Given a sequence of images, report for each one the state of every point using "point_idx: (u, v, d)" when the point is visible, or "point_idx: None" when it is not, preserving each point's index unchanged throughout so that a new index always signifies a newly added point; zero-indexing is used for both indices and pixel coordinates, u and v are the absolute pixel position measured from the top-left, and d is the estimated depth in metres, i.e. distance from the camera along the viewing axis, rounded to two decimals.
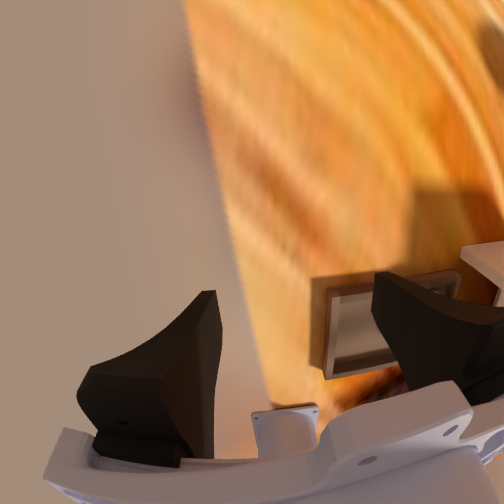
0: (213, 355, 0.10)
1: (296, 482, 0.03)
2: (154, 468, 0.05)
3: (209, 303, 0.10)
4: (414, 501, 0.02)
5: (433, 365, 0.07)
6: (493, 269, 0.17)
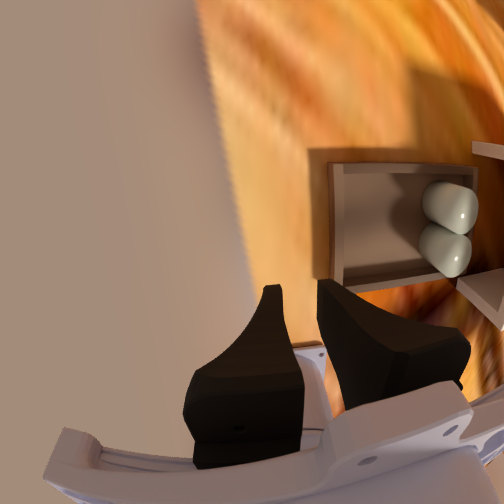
0: None
1: (296, 482, 0.03)
2: None
3: (282, 296, 0.10)
4: (413, 501, 0.02)
5: (359, 385, 0.07)
6: None
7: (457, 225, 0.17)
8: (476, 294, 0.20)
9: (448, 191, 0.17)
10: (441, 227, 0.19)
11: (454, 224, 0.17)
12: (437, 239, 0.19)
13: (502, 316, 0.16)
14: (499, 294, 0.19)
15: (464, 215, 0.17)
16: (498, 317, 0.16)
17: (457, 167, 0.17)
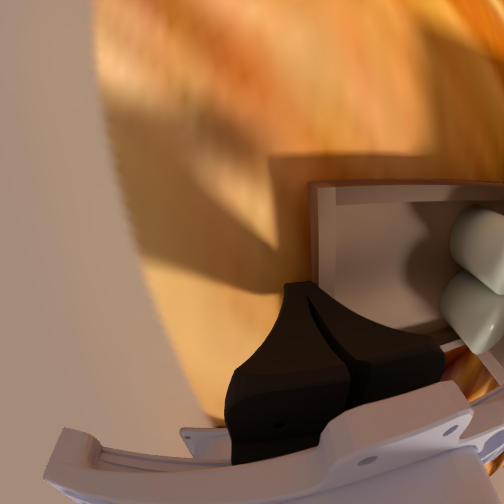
0: None
1: (296, 482, 0.03)
2: None
3: None
4: (414, 501, 0.02)
5: None
6: None
7: (501, 282, 0.09)
8: (497, 363, 0.12)
9: (493, 228, 0.09)
10: (476, 281, 0.12)
11: (497, 281, 0.09)
12: (471, 302, 0.11)
13: None
14: None
15: None
16: None
17: None
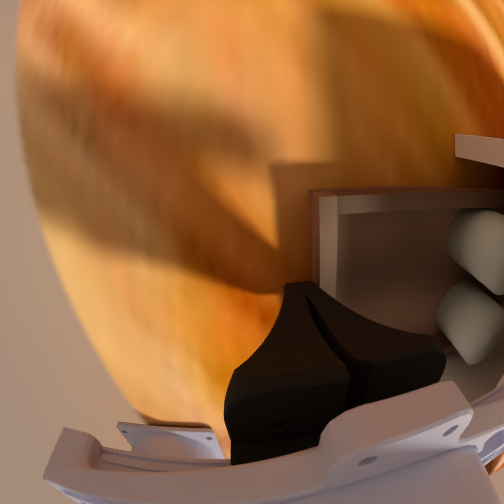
0: None
1: (296, 482, 0.03)
2: None
3: None
4: (414, 501, 0.02)
5: None
6: None
7: (500, 283, 0.09)
8: None
9: (490, 230, 0.09)
10: (473, 293, 0.12)
11: (496, 282, 0.09)
12: (467, 314, 0.11)
13: None
14: (481, 385, 0.11)
15: None
16: None
17: None
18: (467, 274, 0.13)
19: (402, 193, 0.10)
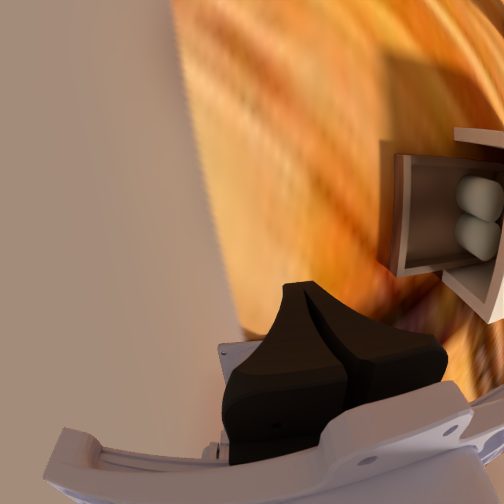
0: None
1: (296, 482, 0.03)
2: None
3: None
4: (414, 501, 0.02)
5: None
6: (492, 131, 0.13)
7: (488, 215, 0.17)
8: (462, 286, 0.20)
9: (478, 186, 0.17)
10: None
11: (486, 215, 0.17)
12: (473, 225, 0.19)
13: (489, 308, 0.16)
14: (487, 286, 0.19)
15: (493, 205, 0.17)
16: (485, 309, 0.17)
17: (493, 164, 0.18)
18: None
19: (438, 157, 0.18)
